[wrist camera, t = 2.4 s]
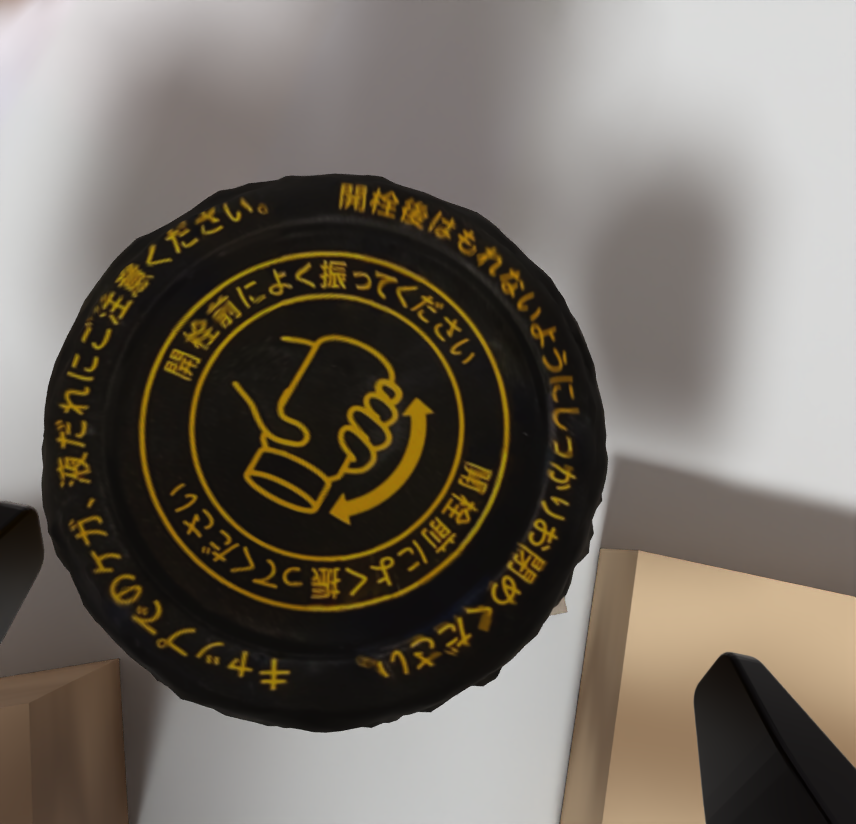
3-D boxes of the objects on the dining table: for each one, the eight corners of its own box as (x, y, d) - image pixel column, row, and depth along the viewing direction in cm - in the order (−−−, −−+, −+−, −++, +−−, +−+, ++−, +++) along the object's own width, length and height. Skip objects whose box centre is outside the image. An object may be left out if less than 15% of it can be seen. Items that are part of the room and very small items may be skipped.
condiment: (210, 395, 17) (-99, 106, 6) (511, 352, 19) (766, 35, 7) (243, 675, 16) (-65, 1033, 4) (563, 610, 17) (988, 764, 6)
